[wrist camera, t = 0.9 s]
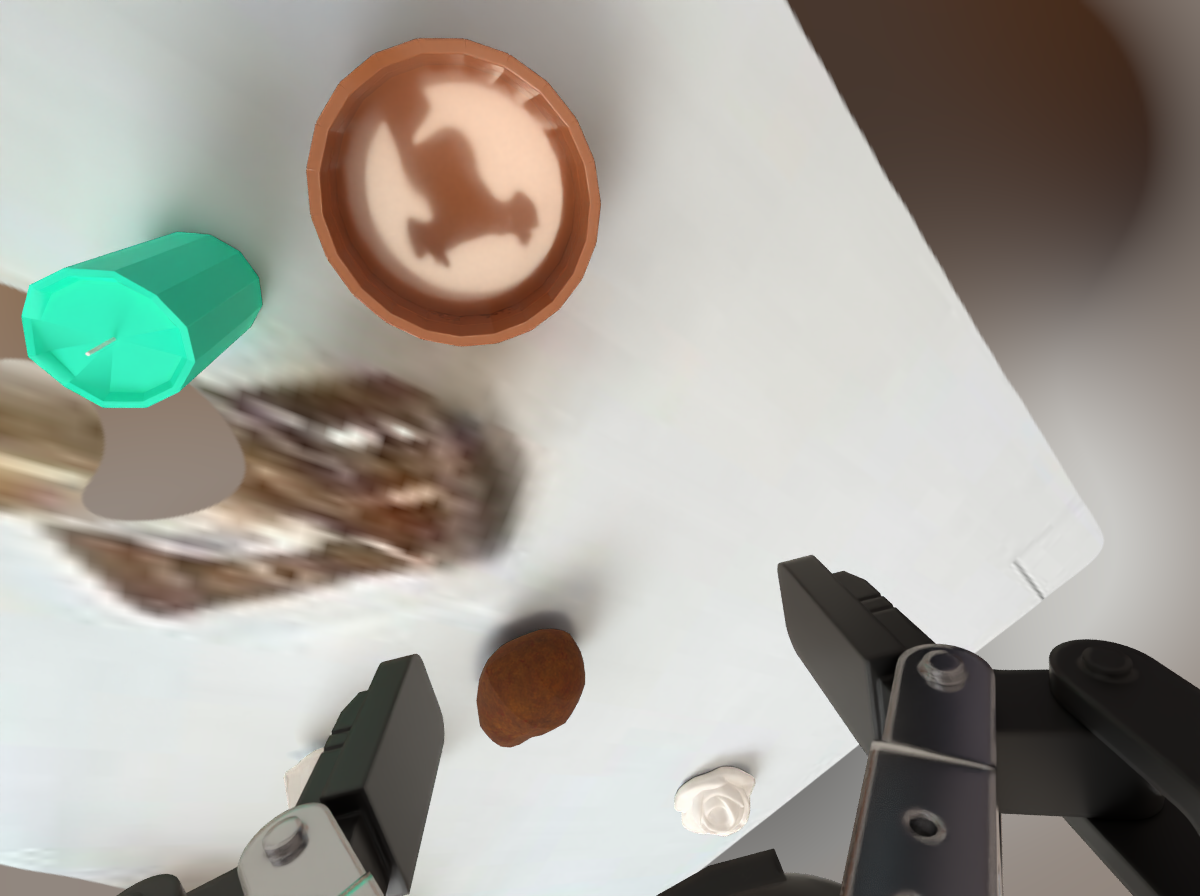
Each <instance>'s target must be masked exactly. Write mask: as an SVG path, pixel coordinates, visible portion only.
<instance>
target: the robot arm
mask: <svg viewBox="0 0 1200 896" xmlns="http://www.w3.org/2000/svg"><path fill="white" fill-rule="evenodd" d="M778 578H779V584H780V591H781V597H782V603H783V609H784V616H785V622H786V627H787V631H788V634H789V637H790V640H791V643H792V645H793V647H794V649H795V651H796V653H797V655H798V656H799V658H800V659H801V660H802V662H803V663H804V665H805V666H806V668H807V669H808V671H809V672H810V673H811V675H812V676H813V678H814V679H815V681H816V682H817V684H818V685H819V687H820V688H821V689H822V691H823V692H824V694H825V695H826V697H827V698H828V700H829V701H830V703H831V704H832V705H833V707H834V708H835V710H836V711H837V713H838V714H839V716H840V717H841V718H842V720H843V721H844V723H845V724H846V726H847V727H848V729H849V730H850V732H851V733H852V734H853V736H854V737H855V739H856V740H857V742H858V743H859V745H860V746H861V747H862V749H863V750H864V752H865V753H866V755H867V756H868V761H867V766H866V770H865V775H864V780H863V785H862V789H861V794H860V799H859V804H858V809H857V813H856V818H855V823H854V828H853V833H852V838H851V843H850V847H849V853H848V857H847V862H846V866H845V871H844V876H843V881H842V884H840V883H837V882H835V881H832V880H829V879H825V878H821V877H818V876H814V875H808V874H800V873H784V872H783V870H782V867H781V864H780V862H779V860H778V857H777V855H776V852H775V850H774V849H771V850H767V851H763V852H759V853H756V854H752V855H748V856H744V857H740V858H737V859H733V860H729V861H725V862H721V863H718V864H714V865H710V866H708V867H706V868H704V869H702V870H701V871H699V872H697V873H695V874H694V875H692V876H690V877H688V878H687V879H685V880H683V881H681V882H680V883H678V884H676V885H674V886H673V887H671V888H669V889H667V890H666V891H664V892H662V893H660V894H658V895H657V896H1003V862H1002V861H1003V860H1002V859H1003V858H1002V815H1001V813H1004V814H1024V815H1046V816H1062V817H1063V818H1064V819H1065V820H1066V821H1067V822H1068V824H1069V825H1070V826H1071V827H1072V828H1073V829H1074V830H1075V831H1076V832H1077V834H1078V835H1079V836H1080V837H1081V838H1082V839H1083V840H1084V841H1085V842H1086V844H1087V845H1088V846H1089V847H1090V848H1091V849H1092V850H1093V851H1094V852H1095V854H1096V855H1097V856H1098V857H1099V858H1100V859H1101V860H1102V861H1103V863H1104V864H1105V865H1106V866H1107V867H1108V868H1109V869H1110V870H1111V871H1112V873H1113V874H1114V875H1115V876H1116V877H1117V878H1118V879H1119V880H1120V881H1121V882H1122V884H1123V885H1124V886H1125V887H1126V888H1127V889H1128V890H1129V892H1130V893H1131V894H1132V895H1133V896H1200V689H1198V688H1197V687H1195V686H1194V685H1192V684H1191V683H1189V682H1188V681H1186V680H1185V679H1183V678H1182V677H1180V676H1179V675H1177V674H1176V673H1174V672H1173V671H1171V670H1170V669H1168V668H1167V667H1165V666H1163V665H1162V664H1160V663H1159V662H1158V661H1156V660H1154V659H1153V658H1151V657H1149V656H1148V655H1146V654H1144V653H1142V652H1140V651H1138V650H1136V649H1133V648H1130V647H1128V646H1124V645H1121V644H1117V643H1113V642H1107V641H1101V640H1089V639H1088V640H1087V639H1085V640H1073V641H1068V642H1065V643H1062V644H1060V645H1058V646H1056V647H1055V648H1054V649H1053V650H1052V651H1051V653H1050V656H1049V670H995V669H992V668H991V667H990V665H989V664H988V663H987V662H986V661H985V660H983V659H982V658H981V657H979V656H978V655H976V654H974V653H972V652H970V651H968V650H965V649H963V648H959V647H956V646H951V645H945V644H936V643H934V642H933V641H932V640H931V639H930V638H929V637H928V636H927V635H926V634H924V633H923V632H922V631H921V630H920V629H919V628H918V627H917V626H916V625H915V624H913V623H912V622H911V621H910V620H909V619H908V618H907V617H906V616H905V615H904V614H902V613H901V612H900V611H899V610H898V609H897V608H896V607H895V608H894V607H893V605H892V604H891V603H890V602H889V601H888V600H887V599H886V598H885V597H884V596H881V595H880V593H879V592H878V591H877V590H876V589H875V588H874V587H873V586H872V585H870V584H869V583H868V582H867V581H866V580H864V579H862V578H859V577H857V576H855V575H852V574H850V573H847V572H845V571H841V572H837V573H833V574H832V573H831V572H830V571H829V570H828V569H827V568H826V567H825V566H824V565H823V564H822V563H821V562H820V561H819V560H818V559H817V558H816V557H815V556H813V555H809V556H805V557H801V558H797V559H793V560H789V561H785V562H781V563H779V564H778ZM443 744H444V723H443V717H442V713H441V710H440V707H439V704H438V702H437V699H436V696H435V693H434V691H433V688H432V685H431V682H430V680H429V677H428V674H427V671H426V669H425V666H424V663H423V661H422V659H421V657H420V656H419V655H418V654H413V655H409V656H405V657H401V658H397V659H393V660H389V661H385V662H382V663H381V664H380V665H379V667H378V669H377V671H376V673H375V676H374V678H373V680H372V682H371V685H370V687H369V689H368V690H367V691H363V692H359V693H358V694H357V696H356V697H355V698H354V699H353V700H352V701H351V702H350V703H349V704H348V705H347V706H346V707H345V709H344V710H343V711H342V712H341V714H340V716H339V718H338V720H337V722H336V724H335V726H334V728H333V730H332V735H331V736H329V738H328V740H327V742H326V744H325V746H324V752H322V753H321V755H320V757H319V759H318V761H317V763H316V765H315V767H314V769H313V771H312V773H311V775H310V777H309V779H308V781H307V783H306V785H305V787H304V789H303V791H302V793H301V795H300V797H299V799H298V802H297V804H296V806H295V807H293V808H291V809H289V810H287V811H285V812H283V813H282V814H280V815H278V816H277V817H275V818H274V819H273V820H271V821H270V822H269V823H267V824H266V825H265V826H264V827H263V828H262V829H261V830H260V831H259V832H258V833H257V834H256V835H255V836H254V837H253V838H252V839H251V841H250V842H249V843H248V845H247V846H246V848H245V849H244V851H243V853H242V855H241V857H240V860H239V863H238V867H236V868H234V869H233V870H231V871H229V872H227V873H225V874H223V875H221V876H219V877H217V878H215V879H213V880H211V881H209V882H207V883H205V884H203V885H201V886H199V887H198V888H196V889H194V890H192V891H190V892H188V893H186V892H185V890H184V888H183V886H182V885H181V883H180V881H179V880H178V878H177V877H175V876H174V875H170V874H161V875H156V876H153V877H150V878H147V879H145V880H142V881H140V882H138V883H136V884H134V885H133V886H131V887H129V888H128V889H126V890H125V891H123V892H122V893H120V894H119V895H117V896H403V895H407V894H409V892H410V888H411V884H412V879H413V875H414V871H415V866H416V862H417V857H418V853H419V849H420V844H421V840H422V836H423V831H424V827H425V823H426V818H427V814H428V809H429V805H430V801H431V796H432V792H433V788H434V783H435V779H436V775H437V770H438V766H439V761H440V757H441V753H442V748H443Z"/></svg>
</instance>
